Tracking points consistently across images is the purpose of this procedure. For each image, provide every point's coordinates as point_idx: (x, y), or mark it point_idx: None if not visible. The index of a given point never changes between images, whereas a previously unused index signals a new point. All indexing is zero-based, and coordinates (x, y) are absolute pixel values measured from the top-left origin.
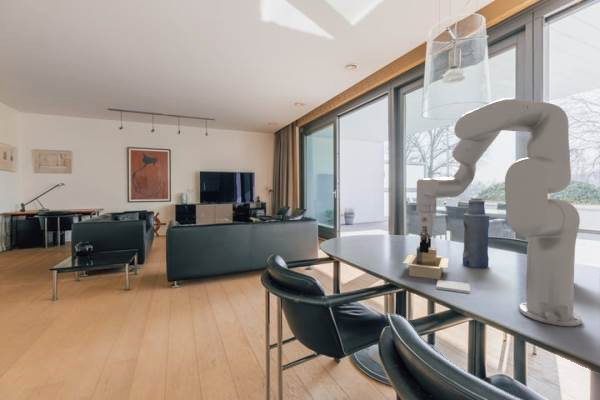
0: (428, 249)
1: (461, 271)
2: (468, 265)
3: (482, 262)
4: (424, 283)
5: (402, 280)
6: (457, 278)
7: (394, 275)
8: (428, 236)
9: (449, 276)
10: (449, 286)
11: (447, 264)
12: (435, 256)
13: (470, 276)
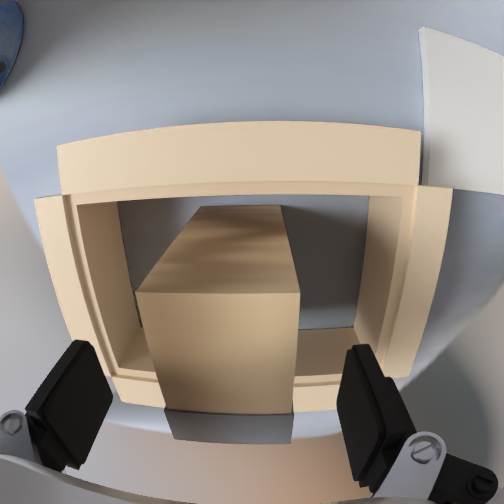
0: (370, 365)
1: (113, 65)
2: (9, 65)
3: (3, 1)
4: (461, 247)
5: (438, 337)
6: (301, 68)
7: None
8: (34, 448)
9: (277, 115)
10: (500, 136)
11: (299, 125)
12: (281, 254)
13: (209, 4)
